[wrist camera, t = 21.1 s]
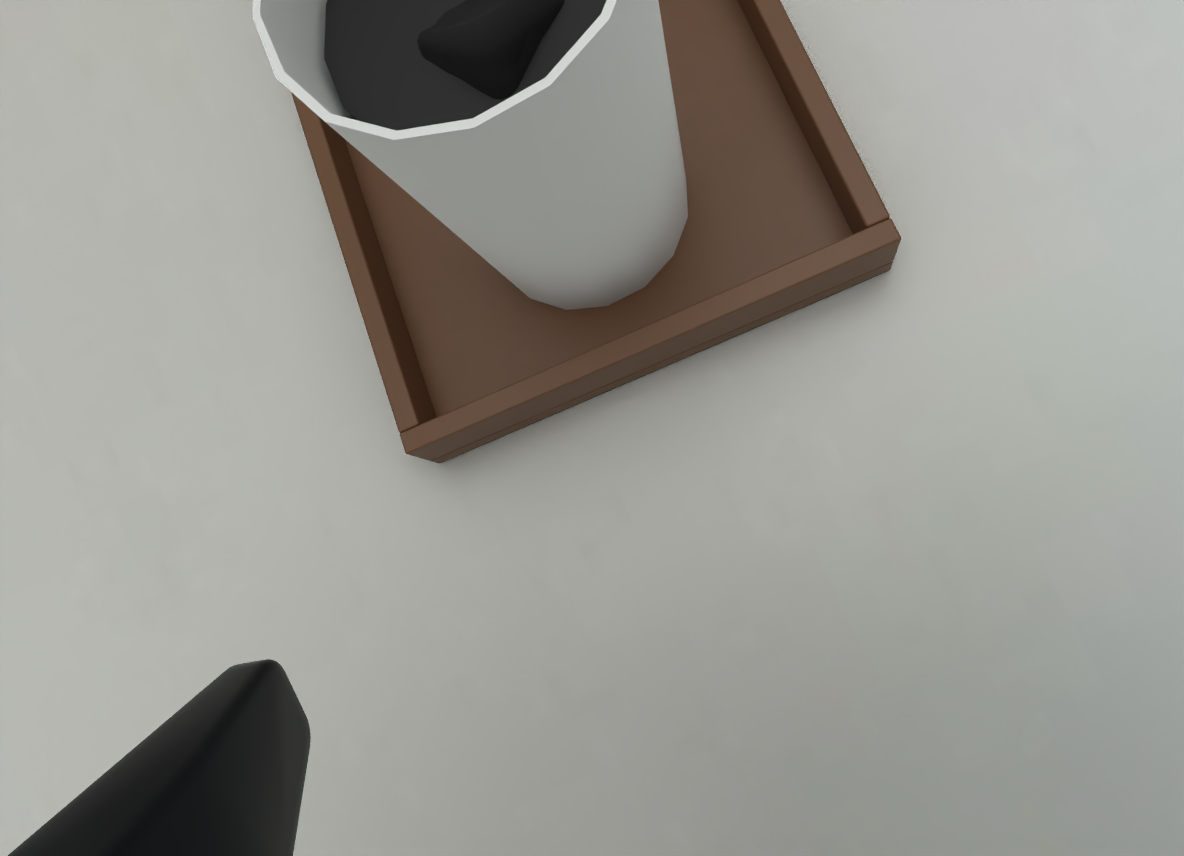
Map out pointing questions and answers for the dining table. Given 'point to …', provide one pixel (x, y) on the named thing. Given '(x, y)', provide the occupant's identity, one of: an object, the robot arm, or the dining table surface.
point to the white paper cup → (506, 125)
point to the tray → (676, 293)
